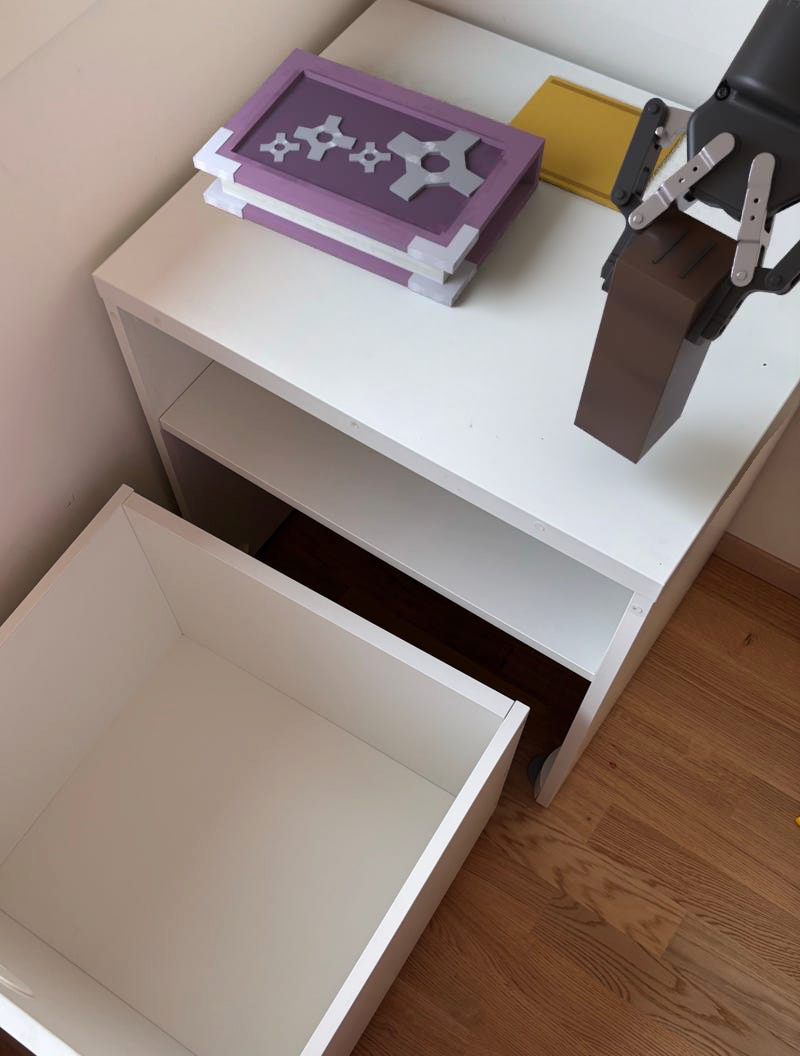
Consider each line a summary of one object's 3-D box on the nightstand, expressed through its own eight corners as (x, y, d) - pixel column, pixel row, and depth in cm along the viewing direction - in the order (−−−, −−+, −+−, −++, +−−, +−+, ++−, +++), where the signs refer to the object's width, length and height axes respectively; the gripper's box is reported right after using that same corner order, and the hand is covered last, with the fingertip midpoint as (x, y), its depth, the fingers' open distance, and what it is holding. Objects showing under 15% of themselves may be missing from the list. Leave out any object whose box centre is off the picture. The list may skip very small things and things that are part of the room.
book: (202, 204, 90) (192, 157, 85) (298, 96, 95) (294, 46, 90) (449, 310, 83) (453, 265, 79) (538, 187, 88) (547, 138, 84)
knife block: (618, 378, 74) (671, 203, 60) (680, 416, 73) (751, 246, 58) (573, 424, 73) (616, 257, 58) (635, 465, 71) (697, 302, 57)
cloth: (686, 130, 90) (687, 126, 90) (623, 213, 86) (624, 210, 86) (550, 77, 94) (550, 74, 94) (484, 155, 90) (484, 152, 90)
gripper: (704, -49, 53) (535, 255, 60) (959, 61, 48) (740, 376, 56) (731, -1, 59) (574, 269, 67) (959, 101, 54) (762, 379, 62)
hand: (651, 316), depth 61 cm, fingers closed on knife block, 5 cm apart
